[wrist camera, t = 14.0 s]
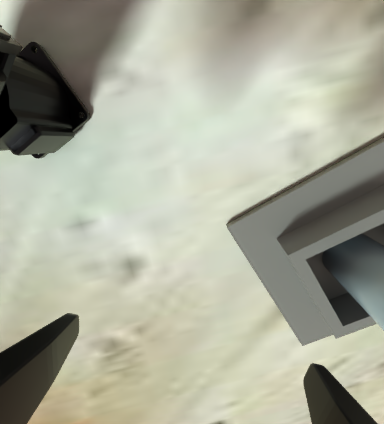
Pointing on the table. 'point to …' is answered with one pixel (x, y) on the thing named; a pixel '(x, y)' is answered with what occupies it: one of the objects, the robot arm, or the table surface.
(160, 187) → the table surface
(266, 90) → the table surface
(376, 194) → the grey square socket base
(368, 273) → the pale blue rounded cylinder
